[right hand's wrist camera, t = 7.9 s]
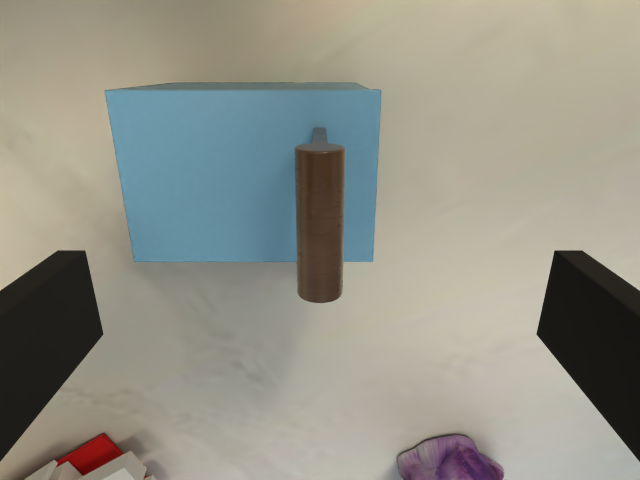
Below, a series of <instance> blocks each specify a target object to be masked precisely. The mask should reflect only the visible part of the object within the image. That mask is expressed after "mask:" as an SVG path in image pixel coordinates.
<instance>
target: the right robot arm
mask: <svg viewBox="0 0 640 480" xmlns="http://www.w3.org/2000/svg"><path fill="white" fill-rule="evenodd" d="M102 335H103V330H102V325H101V321H100V316H99V312H98V307H97V302H96V298H95V293H94V289H93V284H92V279H91V275H90V270H89V266H88V261H87V256H86V252H85V251H57V252H55V253H54V254H52V255H51V256H49V257H48V258H47V259H45V260H44V261H42V262H41V263H39V264H38V265H37V266H35V267H34V268H32V269H31V270H29V271H28V272H27V273H25V274H24V275H22V276H21V277H19V278H18V279H17V280H15V281H14V282H12V283H11V284H9V285H8V286H7V287H5V288H4V289H2V290H1V291H0V461H1V460H2V459H3V458H4V456H5V455H6V454H7V453H8V451H9V450H10V449H11V448H12V447H13V445H14V444H15V443H16V442H17V440H18V439H19V438H20V437H21V435H22V434H23V433H24V432H25V430H26V429H27V428H28V427H29V426H30V424H31V423H32V422H33V421H34V419H35V418H36V417H37V416H38V414H39V413H40V412H41V411H42V409H43V408H44V407H45V406H46V405H47V403H48V402H49V401H50V400H51V398H52V397H53V396H54V395H55V393H56V392H57V391H58V390H59V389H60V387H61V386H62V385H63V384H64V382H65V381H66V380H67V379H68V377H69V376H70V375H71V374H72V372H73V371H74V370H75V369H76V368H77V366H78V365H79V364H80V363H81V361H82V360H83V359H84V358H85V356H86V355H87V354H88V353H89V351H90V350H91V349H92V348H93V347H94V345H95V344H96V343H97V342H98V340H99V339H100V338H101V337H102ZM537 335H538V337H539V338H540V339H541V340H542V342H543V343H544V344H545V345H546V347H547V348H548V349H549V350H550V351H551V353H552V354H553V355H554V356H555V358H556V359H557V360H558V361H559V363H560V364H561V365H562V366H563V368H564V369H565V370H566V371H567V372H568V374H569V375H570V376H571V377H572V379H573V380H574V381H575V382H576V384H577V385H578V386H579V387H580V389H581V390H582V391H583V392H584V393H585V395H586V396H587V397H588V398H589V400H590V401H591V402H592V403H593V405H594V406H595V407H596V408H597V409H598V411H599V412H600V413H601V414H602V416H603V417H604V418H605V419H606V421H607V422H608V423H609V424H610V426H611V427H612V428H613V429H614V430H615V432H616V433H617V434H618V435H619V437H620V438H621V439H622V440H623V442H624V443H625V444H626V445H627V447H628V448H629V449H630V450H631V451H632V453H633V454H634V455H635V456H636V458H637V459H638V460H639V461H640V291H639V290H638V289H636V288H635V287H633V286H632V285H631V284H629V283H628V282H626V281H625V280H623V279H622V278H621V277H619V276H618V275H616V274H615V273H613V272H612V271H611V270H609V269H608V268H606V267H605V266H603V265H602V264H601V263H599V262H598V261H596V260H595V259H593V258H592V257H591V256H589V255H588V254H586V253H585V252H583V251H555V252H554V256H553V261H552V266H551V270H550V275H549V279H548V284H547V289H546V293H545V298H544V302H543V307H542V312H541V316H540V321H539V325H538V330H537Z"/></svg>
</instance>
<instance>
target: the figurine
mask: <svg viewBox="0 0 640 480" xmlns="http://www.w3.org/2000/svg"><path fill="white" fill-rule="evenodd" d="M398 465H399V472H400V475H401V477H402V478H403V480H502V479H503V478H504V469H503V467H502V466H501V465H500V464H499V463H497V462H496V461H494V460H492V459H490V458H488V457H486V456H483V455H481V454H480V453H478V451H477V448H476V446H475V444H474V442H473V441H472V440H471V439H470V438H468V437H465V436H462V435H456V434H455V435H452V436H445V437H439V438H434V439H431V440H428V441H424V442H423V443H421V444H420V445H418V446H417V447H416V448H414V449H412V450H409V451H407V452H404V453H403V454H401V455H399V457H398Z"/></svg>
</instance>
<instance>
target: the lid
mask: <svg viewBox="0 0 640 480" xmlns="http://www.w3.org/2000/svg"><path fill="white" fill-rule="evenodd" d="M105 95H106V101H107V106H108V112H109V118H110V124H111V130H112V135H113V141H114V147H115V153H116V158H117V164H118V170H119V176H120V181H121V187H122V193H123V199H124V204H125V210H126V216H127V222H128V227H129V233H130V239H131V245H132V251H133V256H134V262H297V292H298V295H299V296H300V297H301V298H302V299H304V300H306V301H309V302H314V303H326V302H331V301H334V300H336V299H338V298H339V297H340V296H341V294H342V287H343V262H373V249H374V229H375V208H376V188H377V168H378V147H379V127H380V107H381V90H379V89H112V90H105Z"/></svg>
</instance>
